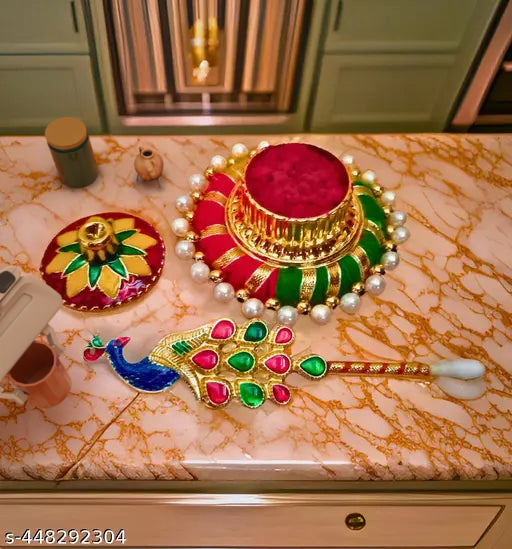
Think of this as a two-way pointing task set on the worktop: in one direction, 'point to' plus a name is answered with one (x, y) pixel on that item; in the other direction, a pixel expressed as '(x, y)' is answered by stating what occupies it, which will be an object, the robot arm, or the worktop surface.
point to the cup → (41, 376)
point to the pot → (148, 165)
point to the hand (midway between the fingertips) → (43, 376)
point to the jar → (72, 152)
